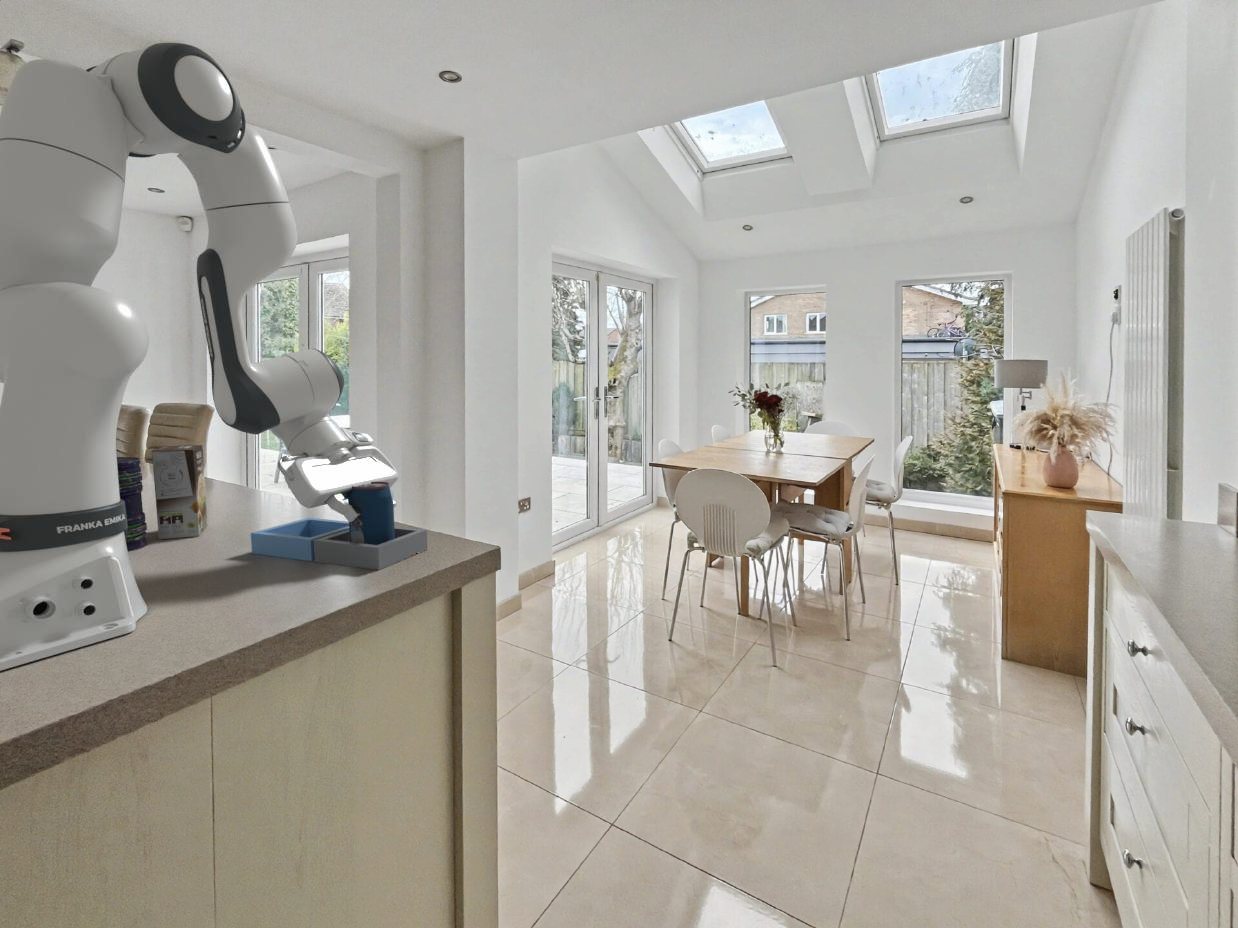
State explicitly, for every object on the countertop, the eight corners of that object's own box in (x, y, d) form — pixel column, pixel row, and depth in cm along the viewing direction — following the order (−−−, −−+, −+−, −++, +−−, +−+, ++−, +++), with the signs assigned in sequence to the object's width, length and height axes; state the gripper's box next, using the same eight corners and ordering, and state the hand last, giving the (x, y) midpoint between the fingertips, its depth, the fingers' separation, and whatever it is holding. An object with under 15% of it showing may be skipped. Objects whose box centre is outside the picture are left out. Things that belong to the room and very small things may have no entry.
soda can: (398, 549, 108) (396, 480, 107) (390, 560, 101) (388, 487, 100) (356, 550, 107) (353, 481, 105) (345, 562, 100) (342, 488, 99)
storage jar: (62, 550, 104) (52, 461, 102) (130, 537, 113) (122, 455, 111) (91, 559, 100) (82, 466, 98) (160, 545, 108) (152, 459, 106)
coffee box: (200, 536, 115) (193, 449, 112) (158, 540, 112) (150, 450, 110) (209, 525, 123) (202, 444, 121) (169, 528, 120) (162, 445, 118)
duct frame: (379, 569, 96) (378, 547, 96) (252, 553, 104) (250, 532, 104) (427, 549, 108) (426, 529, 108) (309, 536, 116) (308, 517, 116)
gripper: (282, 444, 94) (338, 513, 92) (375, 433, 113) (423, 490, 112) (261, 472, 96) (315, 540, 94) (356, 457, 115) (402, 513, 114)
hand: (374, 513), depth 103 cm, fingers open, 7 cm apart
